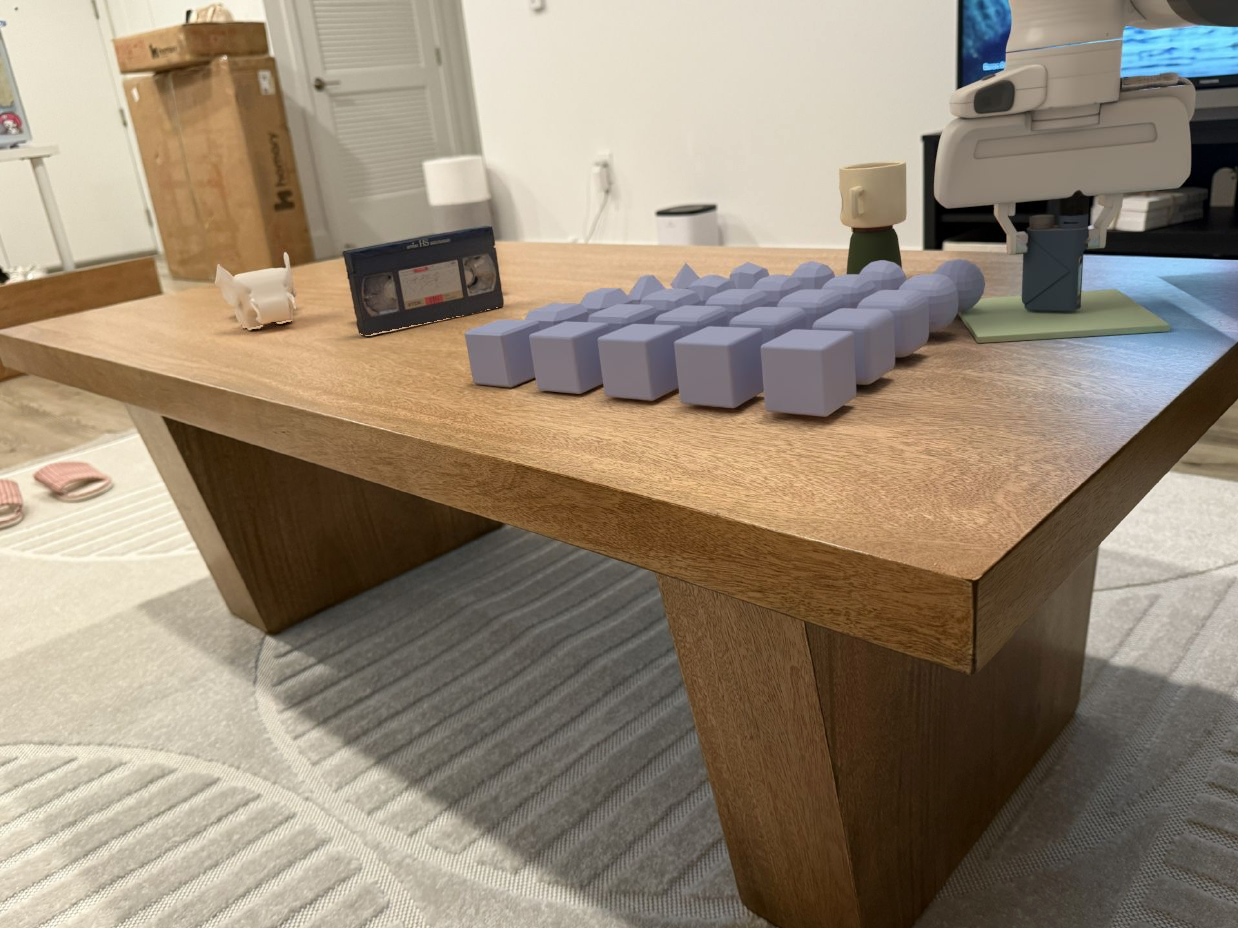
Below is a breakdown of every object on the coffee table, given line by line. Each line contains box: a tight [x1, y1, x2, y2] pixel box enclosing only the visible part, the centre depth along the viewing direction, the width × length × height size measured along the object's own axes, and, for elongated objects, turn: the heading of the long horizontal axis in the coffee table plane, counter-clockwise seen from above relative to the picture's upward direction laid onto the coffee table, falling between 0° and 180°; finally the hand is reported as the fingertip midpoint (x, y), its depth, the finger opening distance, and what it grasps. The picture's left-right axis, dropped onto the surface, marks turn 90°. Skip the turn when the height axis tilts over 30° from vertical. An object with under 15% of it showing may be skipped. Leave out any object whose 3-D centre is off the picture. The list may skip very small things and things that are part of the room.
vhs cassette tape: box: [342, 225, 505, 335], centre depth 118 cm, size 18×3×10 cm, turn 123°
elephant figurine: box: [214, 251, 298, 328], centre depth 126 cm, size 10×12×9 cm
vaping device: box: [1021, 190, 1090, 311], centre depth 87 cm, size 3×5×12 cm, turn 55°
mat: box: [957, 288, 1171, 344], centre depth 89 cm, size 15×15×1 cm
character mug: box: [838, 160, 907, 274], centre depth 110 cm, size 11×7×13 cm, turn 143°
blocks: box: [464, 258, 986, 418], centre depth 90 cm, size 35×34×5 cm
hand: (1054, 251), depth 87 cm, fingers closed on vaping device, 5 cm apart
